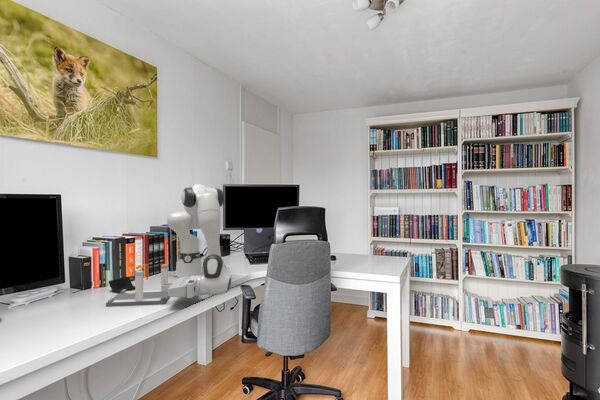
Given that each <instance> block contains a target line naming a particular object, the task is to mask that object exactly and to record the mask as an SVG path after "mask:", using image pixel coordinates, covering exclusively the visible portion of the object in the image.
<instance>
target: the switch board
mask: <svg viewBox="0 0 600 400" xmlns="http://www.w3.org/2000/svg"><path fill="white" fill-rule="evenodd" d="M170 298H171V297H170V296H168V290H167V291H161V289H149V290H145V289H143V300H142V301H135V290H132V291H126V289H123V290H122V291H121V293H119V294H118V293H117V294H116V295H115V296H114V297H111V298H110V299H108V300H107V302H106V303H105V307H109V308H110V307H125V306H127V307H129V306H150V305H153V306H154V305H165V304H166V303H167V302H168V300H169V299H170Z"/></svg>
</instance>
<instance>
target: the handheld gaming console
mask: <svg viewBox="0 0 600 400" xmlns="http://www.w3.org/2000/svg"><path fill="white" fill-rule="evenodd" d="M108 285H109V287H110V289H111V291H112V292H111V293H114V294H117V295H118V294H119V293H121V291H122V290H123V289H126V291H135V285H133V283H132V280H131V278H130V276H124V277H121V278H116V279H112V280H108Z"/></svg>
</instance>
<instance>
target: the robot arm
mask: <svg viewBox="0 0 600 400" xmlns="http://www.w3.org/2000/svg"><path fill="white" fill-rule="evenodd" d="M180 199H181V203H182V205H183V209H184V211H174V212H171V213H170V214H168V216H167V219H166V223H167V227H168V228H169V229H170V230H172V231H173V232H174V233H176V235H177V237H178V240H179V253H178V258H179V259H178V260H177V261H176V267H175V273H173V274H172V276H173V277H177V278H176V279H175V280H174V281H173V282H168V284H163V285H162V286H161V285H160V290H161V289H162V290H164V289H166V290H168V296H170V298H185V297H186V298H187V299H191V298H194V297H198V296H203V295H209V296H216V295H224V294H226V293H228V292H229V291H230V289H231V284H232V276H231V275H230V274H229V272H228V270H227V267H226V264H225V263H224V259H222V253H221V243H220V238H221V237H220V235H221V227H222V226H221V224H222V213H221V207H222V206H223V205H224V202H225V194H224V192H223V190H222V189H221V188H220V189H219V188H213V187H206V186H205V184H202V183H201V184H200V183H196V184H194V185H192V186H191V187H185V188H184V189H183V190H182V192H181V195H180ZM190 230H200V231H201V232H202V234H203V236H204V239H205V243H206V249H207V251H206V252H207V256H206V257H205V258H204V259H203V261H202V260H201V258H200V257H201V252H200V239H199V237H197V236H196V235H193V234H192V233H191V232H190Z"/></svg>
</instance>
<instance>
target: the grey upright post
mask: <svg viewBox="0 0 600 400" xmlns="http://www.w3.org/2000/svg"><path fill="white" fill-rule="evenodd" d="M160 270H161V271H160V280H161V281H160V287H161V286H162V285H163V284H168V283H169V263H163V264H161V265H160ZM160 290H161V291H167V290H166V289H164V290H162V289H161V288H160Z"/></svg>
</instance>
